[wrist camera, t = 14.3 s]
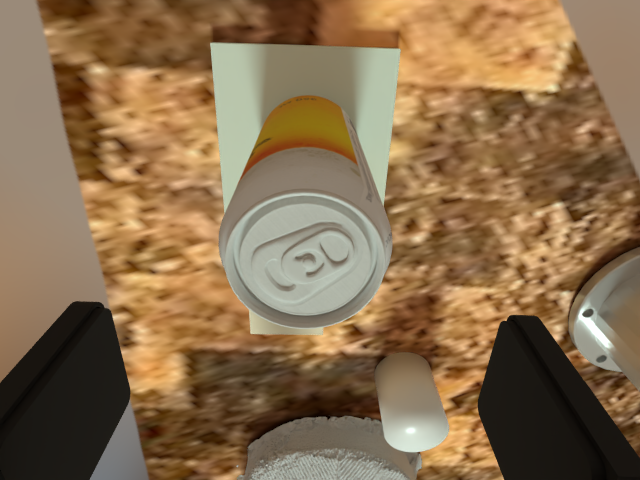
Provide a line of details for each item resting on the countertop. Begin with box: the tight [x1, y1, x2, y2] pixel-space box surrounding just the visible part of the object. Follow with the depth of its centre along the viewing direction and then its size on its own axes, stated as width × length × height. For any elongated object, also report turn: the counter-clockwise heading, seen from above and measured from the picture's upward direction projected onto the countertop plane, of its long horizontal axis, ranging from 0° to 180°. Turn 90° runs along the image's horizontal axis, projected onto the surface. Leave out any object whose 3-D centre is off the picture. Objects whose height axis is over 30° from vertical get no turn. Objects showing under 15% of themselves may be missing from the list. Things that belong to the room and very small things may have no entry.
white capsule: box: [374, 352, 449, 452], centre depth 35 cm, size 5×5×6 cm
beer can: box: [219, 95, 392, 329], centre depth 20 cm, size 6×6×15 cm
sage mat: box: [210, 42, 401, 212], centre depth 27 cm, size 11×11×1 cm
